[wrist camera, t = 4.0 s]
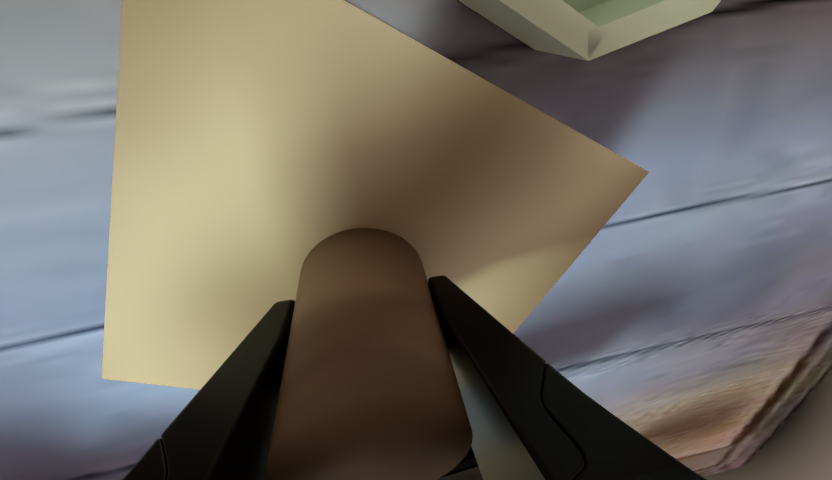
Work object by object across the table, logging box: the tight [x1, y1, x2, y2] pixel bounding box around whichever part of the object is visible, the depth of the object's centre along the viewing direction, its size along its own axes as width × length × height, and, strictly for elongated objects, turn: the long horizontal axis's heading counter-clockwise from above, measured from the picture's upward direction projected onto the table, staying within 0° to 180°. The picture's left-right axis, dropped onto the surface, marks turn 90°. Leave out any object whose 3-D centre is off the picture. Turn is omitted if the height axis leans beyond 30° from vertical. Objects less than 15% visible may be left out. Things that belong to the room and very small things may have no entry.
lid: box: [102, 0, 649, 480], centre depth 8 cm, size 11×11×5 cm
